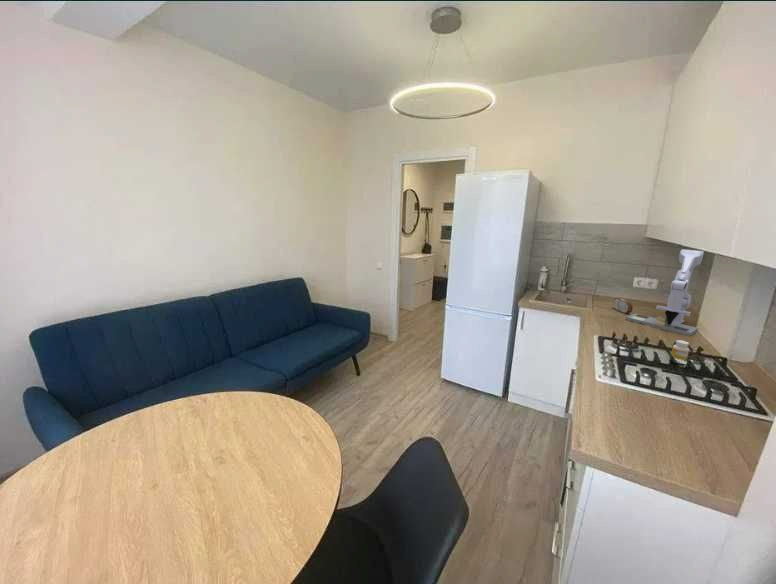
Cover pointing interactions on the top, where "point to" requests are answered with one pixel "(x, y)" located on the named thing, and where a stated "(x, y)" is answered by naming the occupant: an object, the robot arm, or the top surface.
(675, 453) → the top surface
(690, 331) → the board
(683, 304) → the robot arm
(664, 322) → the block
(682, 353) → the supplement bottle
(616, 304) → the tin
